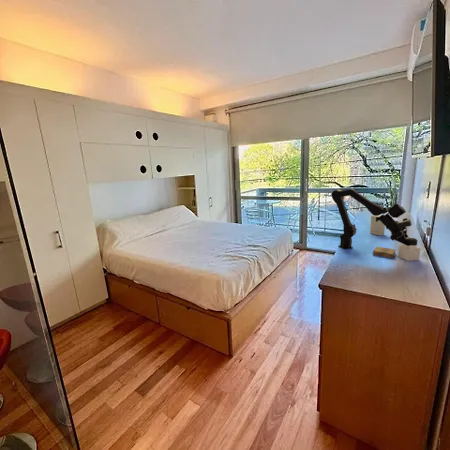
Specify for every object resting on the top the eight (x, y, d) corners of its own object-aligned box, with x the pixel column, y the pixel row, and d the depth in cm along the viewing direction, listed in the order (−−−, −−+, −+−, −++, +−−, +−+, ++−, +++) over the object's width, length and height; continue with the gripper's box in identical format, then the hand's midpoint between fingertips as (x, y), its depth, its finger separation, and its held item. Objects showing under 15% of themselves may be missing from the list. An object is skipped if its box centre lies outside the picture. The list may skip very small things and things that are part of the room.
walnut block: (372, 255, 149) (373, 250, 148) (376, 250, 156) (376, 246, 156) (392, 259, 143) (392, 254, 142) (394, 254, 150) (395, 249, 149)
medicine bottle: (419, 259, 139) (422, 239, 136) (408, 261, 138) (411, 240, 135) (408, 255, 146) (410, 236, 143) (397, 256, 145) (400, 237, 142)
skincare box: (384, 234, 189) (386, 215, 186) (380, 236, 186) (382, 216, 183) (372, 232, 196) (374, 214, 193) (369, 233, 193) (371, 215, 190)
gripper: (400, 217, 133) (423, 240, 128) (404, 211, 146) (425, 232, 141) (381, 229, 140) (402, 251, 135) (387, 223, 153) (406, 243, 148)
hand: (410, 244), depth 140 cm, fingers closed on medicine bottle, 6 cm apart
